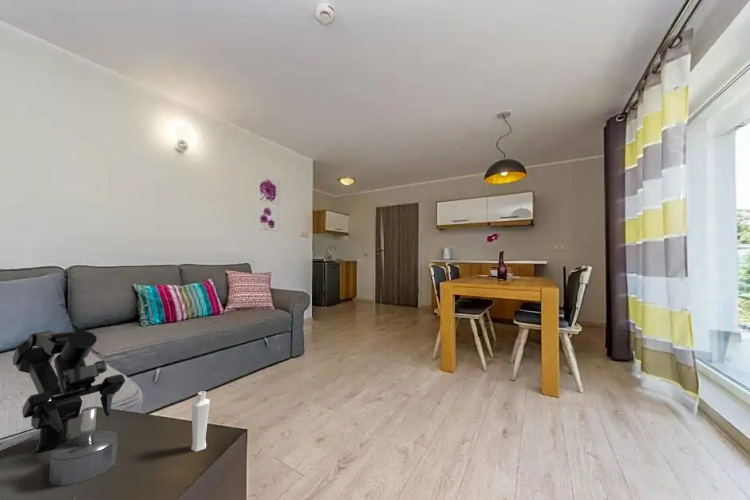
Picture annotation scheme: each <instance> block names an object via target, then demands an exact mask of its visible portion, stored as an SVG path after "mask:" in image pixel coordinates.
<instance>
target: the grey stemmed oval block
mask: <svg viewBox="0 0 750 500" xmlns="http://www.w3.org/2000/svg"><path fill="white" fill-rule="evenodd" d="M97 409H98V407H97V406H88V407H85V408H83V409H81V411H80V412H81V415H80V427H79V435H78V436H75V437H74V438H70V440H68V441H66V442H64V443H62V444H60V445H59V446H57V447H56V448H53V449H52V452H51V456H50V463H49V472H48V473H49V474H48V476H49V477H48V482H49V483H50V484H51V485H53V486H59V487H60V486H61V487H63V486H70V485H75V484H78V483H82V482H84V481H88V480H91V479H93V478H95V477H98V476H100V475H102V474H103V473H104V472H106V471H108V470H109V469H111V468H112V467H113V466H114V464H115V463H116V462H117V454H118V453H117V452H118V450H117V449H118V439H119V438H118V437H119V435H118V433H117V432H116V431H113V430H99V431H96V425H97V424H96V420H97V412H98V411H97Z"/></svg>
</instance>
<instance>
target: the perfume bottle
mask: <svg viewBox="0 0 750 500" xmlns="http://www.w3.org/2000/svg"><path fill="white" fill-rule="evenodd" d="M206 394H207V391H203V390H202V391H201V390H200V392H197V400H196V401H194V402H192V404H191V419H192V420H191V421H192V422H191V424H192V425H191V427H192V428H191V429H192V444H191V447H190V450H191V451H193V452H199V451H201V450H202V451H203V450H205V449H206V448H207V442H206V438H207V437H206V435H207V429H208V428H207V427H208V420H209V411H210V410H209V409H210V404H211V403H210V402H211V399H209V398H206Z"/></svg>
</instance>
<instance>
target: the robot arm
mask: <svg viewBox="0 0 750 500" xmlns="http://www.w3.org/2000/svg"><path fill="white" fill-rule="evenodd" d="M97 339H98V338H97V336H96V335H95V334H94V333H92V332H90V331H87V330H85V328H83V327H82V328H74V329H73V330H72V331H64V332H54V331H51V330H49V331H41V332H39V331H38V332H34V333H30V334H29V336H28V338H27V340H25V341H24V342H22V343H21V344H19V345H18V346H16V349H15V351H14V353H13V357H12V364H13V366H15V367H16V368H17V370H18V372H22V373H26V374H29V377H30V378H31V380H32V383H33V384H34V386H35V389H36V392H37V393H35V394H32V395H29V396H28V398H27V399H26V401H25V402H24V405H23V407H22V417H23V418H25V419H27V418H30V422H31V423H30V424H31V425H30V426H31V427H32V428H34V429H35V430H36V431H39V440H38V442H36V443H37V444H36V447H35V450H34V451H35V452H34V453H35V454H37V453H42V452H46V451H48V450H54V449H55V448H56V447H57V446H59V445H60V444H62V443H64V442H66V441H68V440H70V439H71V433H69V430H70V429H69V428H70V420H72V419H73V420H74V419H77V418H79V415H80V412H81V410H82V409H81V408H82V404H83V399H82V398H81V397H82V396H87V395H91V394H94V393H98V392H99V395H101V396H100V402H101V406H102V409H103V412H104V414H105V417H109V416H110V415H111V409H112V402H113V397H114V396H115V394H116V393H118V392H119V391H120V390H121V388H122V387H123V385H124V384H125V382H126V377H124V375H122V374H120V373H119V374H114V375H111V376H106V377H105V378H104V379H103V381H102V382H101V383H98V384H94V383H95V382H96V378H97V377H100V376H99V374H103V373H105V372H107V363H106V360H104V359H103V360H99V361H96V362H93V364H89V365H86V364H87V363H86V361H85V358H87V357H88V356H89V354H90V353H91V352H92V349H93V348H94V346H95V344H96V343H97ZM57 354H58V355H57ZM55 355H57V356H55ZM54 357H55V358H54ZM52 361H53V362H54V366H53V365H52ZM53 367H54V368H55V370H56V371H55V370H54V368H53ZM92 384H94V385H92Z"/></svg>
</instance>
